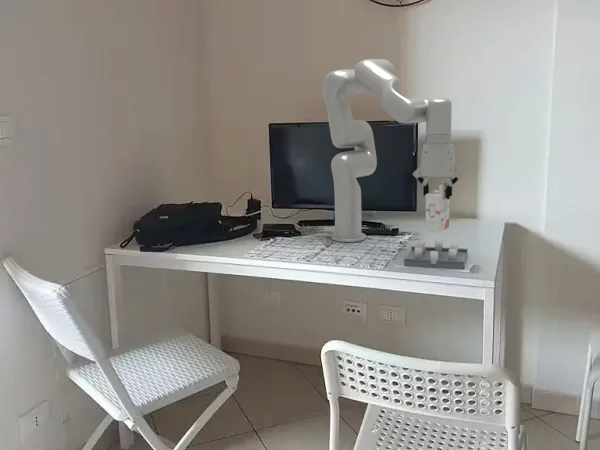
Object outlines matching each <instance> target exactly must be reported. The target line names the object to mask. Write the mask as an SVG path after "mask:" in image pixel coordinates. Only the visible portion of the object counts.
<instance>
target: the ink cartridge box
mask: <svg viewBox="0 0 600 450" xmlns="http://www.w3.org/2000/svg"><path fill="white" fill-rule="evenodd" d="M447 186H448V182H444V183H441V184H440V185H439V186H438V190H437V189H435V190H433V191H431V192H430V191H429V193H428V194H426V195H425V196H426V199H425V232H429V233H430V232H431V233H441V232H443V231H445V230H446V229H449V227H450V198H449V199H447Z"/></svg>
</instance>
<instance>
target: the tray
mask: <svg viewBox="0 0 600 450" xmlns="http://www.w3.org/2000/svg"><path fill="white" fill-rule="evenodd" d="M443 243H444V241H443V240H442V239H436V240H434V246H426V242H425V241H418V242H417V246H416V245H411V246H410V251H409V253H408V255H407V256H406V257H404V260H403V262H404V263H403V265H404V266H406V267H420V268H421V267H422V268H437V267H438V268H439V267H440V269H441V268H442V269H455V268H464V269H465V267H464V266H466V263H467V257H468V248H459V243H456V242H452V243H450V247H443V246H444V244H443ZM438 268H437V269H438Z"/></svg>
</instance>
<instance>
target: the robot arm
mask: <svg viewBox="0 0 600 450" xmlns="http://www.w3.org/2000/svg"><path fill="white" fill-rule="evenodd" d="M321 87H322V88H321V93H322V98H323V100H324V101H323V102H324V105H325V107H326V113H327V120H328V126H329V132H330V138H331V139H330V140H331V141H332V144H333V146H334V147H336V148H338V149H348V148H349V149H350V148H354V150H350V151H349V150H348V151H344V152H343V151H342V152H339V153H337V154H336V155H335V156H333V158H332V159H331V164H330V167H331V174H332V177H333V188H334V191H333V192H334V225H333V226H324V228H323V231H324V233H328V234H331V235H330V238H331V240H332V241H335V242H339V243H357V242H362V241H364V240H366V239H367V235H366V233H363V232H362V190H361V185H360V184H359V182H358V180H357V178H362V177H366V176H370V175H372V174H373V173H374V172H375V171H376V169H377V164H378V162H377V161H378V159H377V153H376V152H377V151H376V145H375V138H374V133H373V129H372V126H371V125H370V124H369V122H367V121H365V120H364V119H363V120H362V119H354V118H353V113H352V106H351V105H350V103H349V101H348V99H346V97H345V95H357V94H358V95H359V94H361V95H362V94H367V93H370V92H372V94H374V95H375V96H377V97H378V98H379V99H380V100H379V101H380V103H381V104H380V105H381V107H382V109H383V110H384V111H385V113H387V115H389V116H391V117H392V118H393V119H394V120H396V121H397V122H399V123H401V124H405V125H406V124H407V125H408V124H417V123H419V124H420V123H425V135H423V136H420V140H421V142H425V143H424V144H422V150H421V155H420V156H421V157H420V166H419V167H418V168H417V169H416V170H414V172H413V173H412V176H413V177H415V179H416V180H417V181H418V182H420V184H421V185H422V186H423V187H422V188H423V190H422V191H423V196H425V195H426V194H428V193H430V185H429V180H430V178H435V179H436V178H437V179H438V178H439V179H440V178H442V179H443V178H445V179H446V181H447V182H448V186H447V199H449V200H450V198H451V197H452V196H453V185H455V183H457V182H458V181H459V180H460V179H461V178H462V177H463V176H464V172H463V171H462V170H461V169H460V168H459V166H457V165H456V158H455V147H454V144H453V143H452V113H453V112H452V109H453V108H452V107H453V105H452V100H451V99H449V98H430V97H412V98H410V97H409V98H406V97H404V96H402V95H401V94H400V93H399V91H400V89H401V81H400V78H399V77H398V76H396V68H395V66H394V65H393V63H392V62H391V61H389V60H388V59H384V58H367V59H363V60H361V61H359V62H358V63H357V64H355V67H354V69H353V68H351V69H337V70H332V71H330V72H329V73H328V74H326V76H325V77H324V79H323V81H322V86H321ZM455 173H456V174H457V175H456V176H454V175H455ZM452 177H453V178H452ZM425 200H426V196H425Z"/></svg>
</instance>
